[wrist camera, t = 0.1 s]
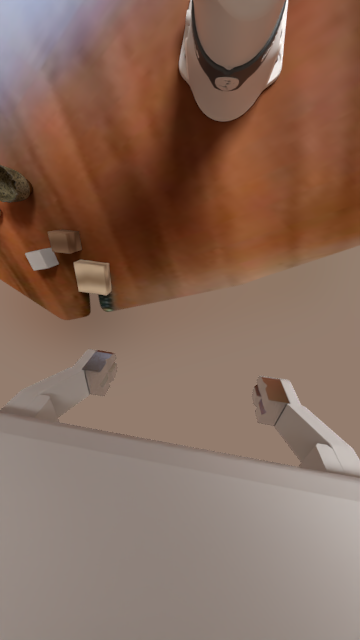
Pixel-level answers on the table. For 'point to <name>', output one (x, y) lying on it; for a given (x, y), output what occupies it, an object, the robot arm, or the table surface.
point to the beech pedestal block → (93, 277)
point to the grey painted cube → (42, 259)
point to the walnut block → (65, 241)
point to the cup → (13, 185)
